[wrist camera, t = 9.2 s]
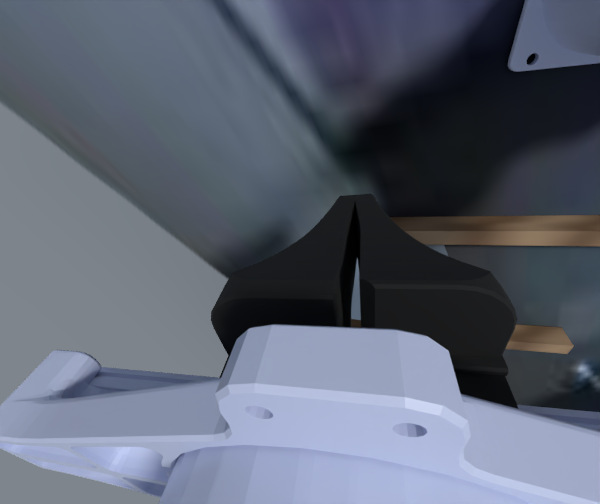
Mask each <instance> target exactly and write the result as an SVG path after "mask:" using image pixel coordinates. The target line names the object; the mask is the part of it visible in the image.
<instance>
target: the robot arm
mask: <svg viewBox="0 0 600 504" xmlns="http://www.w3.org/2000/svg"><path fill="white" fill-rule="evenodd" d="M533 53H534V54H535V59H534V61H533V62H532V63H531V64H527V58H528V57H529V56H530V55H531V54H533ZM596 63H600V0H525V2H524V6H523V10H522V13H521V17H520V20H519V24H518V28H517V31H516V35H515V38H514V42H513V45H512V49H511V53H510V56H509V60H508V67H509V69H510V70H512V71H516V72H520V71H529V70H539V69H548V68H558V67H567V66H577V65H586V64H596ZM357 258H358V266H359V286H360V313H361V328H356V327H351V306H352V295H353V287H354V279H355V271H356V263H357ZM211 321H212V324H213V327H214V329H215V331H216V333H217V335H218V337H219V339H220V340H221V342H222V344H223V346H224V348H225V350H226V351H227V353H228V355H229V356H228V358H227V361H226V363H225V366H224V368H223V371H222V373H221V376H220V378H216V377H206V376H194V375H183V374H173V373H162V372H150V371H138V370H128V369H117V368H106V367H101V365H100V363H99V362H98V361H97V360H96V359H94V358H93V357H92V356H91V355H89V354H87V353H83V352H78V351H65V350H54V351H52V352H51V354H50V355H48V357H47V358H46V359H45V360H44V361H43V362H42V363H41V364H40V365H39V366H38V367H37V368H36V369H35V370H34V371H33V372H32V373H31V374H30V375H29V376H28V377H27V379H25V381H24V382H23V383H22V384H21V385H20V386H19V387H18V388H17V389H16V390H15V391H14V392H13V393H12V394H11V395H10V396H9V397H8V398H7V399H6V400H5V401H4V402H3V404H1V405H0V449H3V450H5V451H7V452H9V453H11V454H13V455H16V456H17V457H20V458H22V459H24V460H26V461H28V462H31V463H32V464H35V465H37V466H39V467H41V468H44V469H49V470H54V471H58V472H63V473H68V474H72V475H76V476H80V477H84V478H88V479H92V480H96V481H100V482H104V483H108V484H111V485H115V486H119V487H123V488H126V489H130V490H134V491H137V492H141V493H145V494H149V495H153V496H156V497H160V498H161V499H160V501H159V504H600V412H591V411H580V410H569V409H558V408H547V407H536V406H525V405H517V404H516V401H515V399H514V397H513V394H512V392H511V390H510V387H509V385H508V382H507V380H506V378H505V376H507V374H508V367H507V365H506V363H505V361H504V358H503V356H502V355H503V352H504V350H505V348H506V346H507V344H508V342H509V340H510V338H511V336H512V334H513V332H514V330H515V326H516V322H517V316H516V312H515V309H514V307H513V305H512V303H511V301H510V300H509V298H508V296H507V294H506V293H505V291H504V290H503V288H502V287H501V285H500V284H499V283H498V281H497V280H496V279H495V277H494V276H493V275H492V273H491V272H490V271H488V270H485V269H482V268H479V267H476V266H473V265H470V264H466V263H463V262H460V261H458V260H455V259H453V258H451V257H448V256H446V255H444V254H441V253H439V252H437V251H435V250H433V249H431V248H430V247H428V246H426V245H424V244H423V243H421V242H419V241H418V240H416V239H414V238H413V237H411V236H410V235H409V234H407V233H406V232H405V231H403V230H402V229H401V228H400V227H399V226H398V225H397V224H396V223H395V222H394V221H393V220H392V219H391V218H390V217H389V216H388V215H387V214H386V213H385V212H384V210H383V209H382V208H381V206H380V205H379V204H378V202H377V201H376V199H375V197H374V196H373V195H372V194H365V195H349V196H340V197H339V198H338V199H337V201H336V202H335V204H334V205H333V206H332V208H331V209H330V210H329V211H328V213H327V214H326V215H325V216H324V217H323V219H322V220H321V221H320V222H319V223H318V224H317V225H316V226H315V227H314V228H313V229H312V230H311V231H310V232H309V233H307V234H306V235H305V236H304V237H302V238H301V239H300V240H298V241H297V242H296V243H294V244H292V245H291V246H289V247H288V248H286V249H285V250H283V251H281V252H280V253H278V254H276V255H274V256H272V257H270V258H268V259H266V260H264V261H262V262H259V263H257V264H255V265H252V266H249V267H247V268H244V269H241V270H239V271H236V272H233V273H232V275H231V276H230V278H229V280H228V281H227V283H226V285H225V287H224V289H223V291H222V292H221V294H220V297H219V298H218V300H217V302H216V304H215V306H214V308H213V310H212V312H211Z"/></svg>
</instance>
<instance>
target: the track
mask: <svg viewBox="0 0 600 504" xmlns="http://www.w3.org/2000/svg"><path fill="white" fill-rule="evenodd" d="M390 218H391V219H392V220H393V221H394V222H395V223H396V224H397V225H398V226H399V227H400V228H401V229H402V230H403V231H405V232H406V233H407V234H409V235H410V236H411V237H413V238H414V239H416V240H418V241H419V242H421V243H423V244H430V245H523V246H600V215H564V216H452V217H390ZM351 327H356V328H361V320H356V319H351ZM572 348H573V344H572V343H571V341H570V340H569V338H568V337H567V335H566V334H565V332H564V331H563V329H562V327H547V326H531V325H516V326H515V330H514V332H513V334H512V336H511V338H510V340H509V342H508V344H507V346H506V348H505V349H515V350H527V351H540V352H552V353H564V354H568V352H569V351H570V350H571V349H572Z"/></svg>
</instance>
